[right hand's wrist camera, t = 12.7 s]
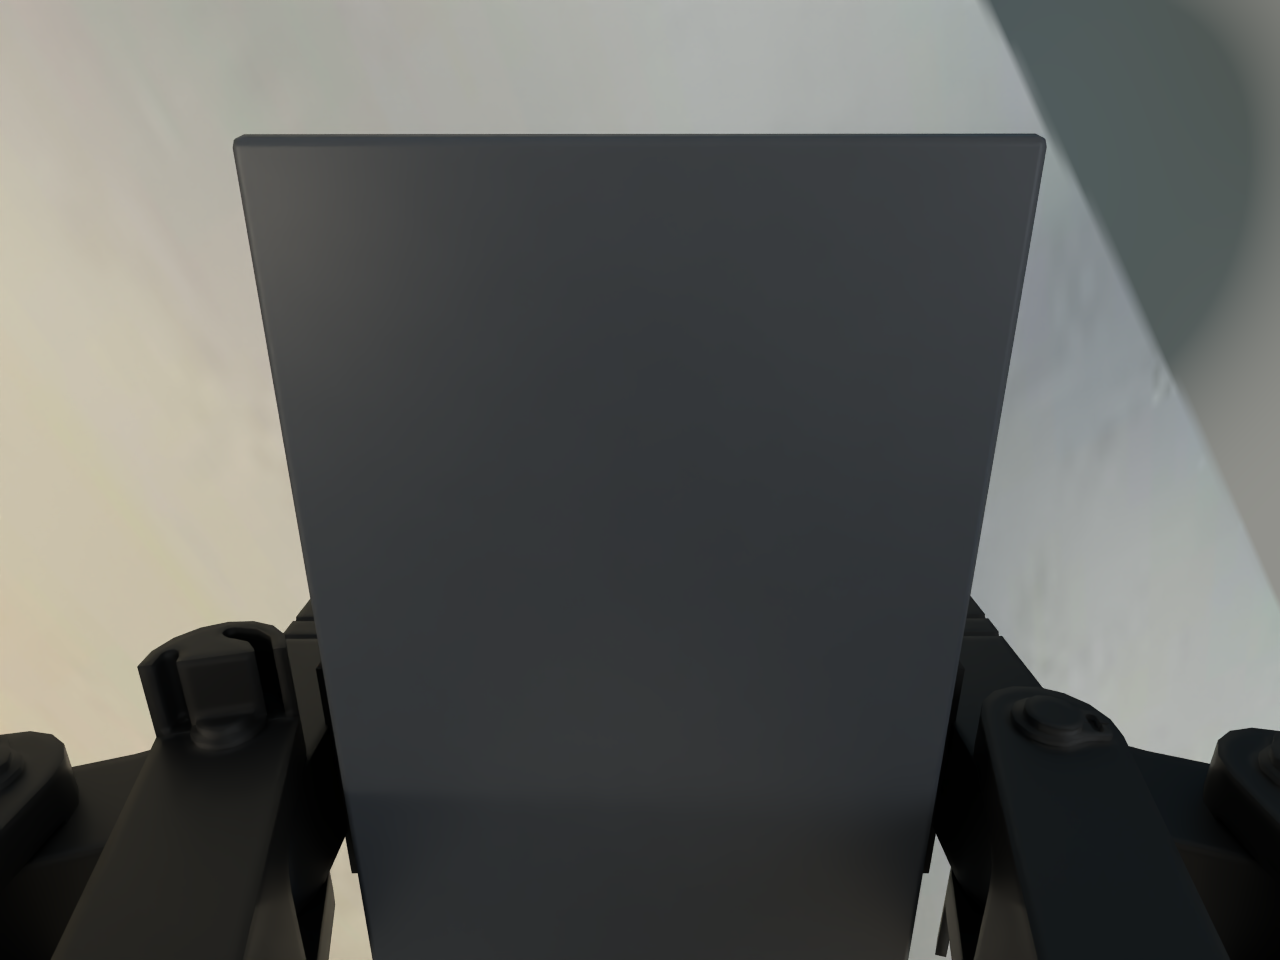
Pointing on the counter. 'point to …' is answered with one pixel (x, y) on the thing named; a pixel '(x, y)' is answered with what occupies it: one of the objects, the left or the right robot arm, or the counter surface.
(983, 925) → the right robot arm
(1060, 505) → the counter surface
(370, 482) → the beam
